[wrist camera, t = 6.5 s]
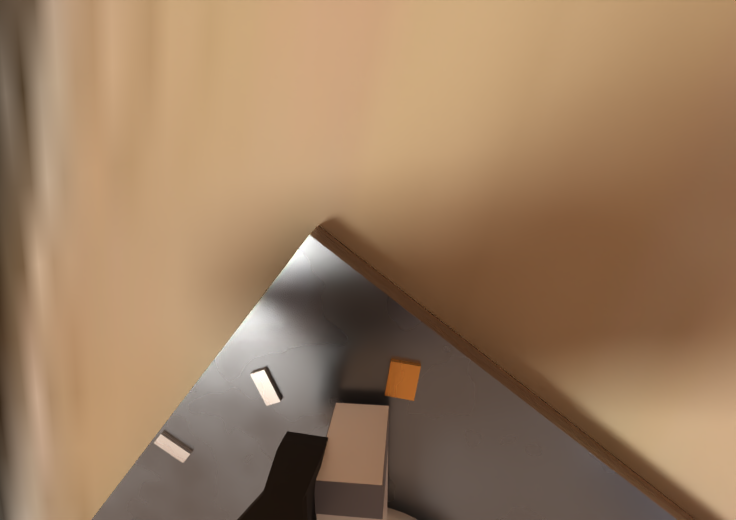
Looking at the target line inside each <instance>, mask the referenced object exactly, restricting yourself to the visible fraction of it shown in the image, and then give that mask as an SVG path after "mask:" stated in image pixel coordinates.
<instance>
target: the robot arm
mask: <svg viewBox="0 0 736 520" xmlns="http://www.w3.org/2000/svg"><path fill="white" fill-rule="evenodd" d="M327 441H328V437H322V436H316V435H309V434H303V433H296V432H290V431H287V432H286V434H285V436H284V437H283V439H282V441H281V443H280V445H279V447H278V449H277V451H276V454H275V457H274V460H273V463H272V466H271V469H270V472H269V475H268V478H267V482H266V485H265V488H264V490H263V491H262V493H261V494H260V495H259V496H258V497H257V498H256V499H255V500H254V502H253V503H252V504H251V505H250V506H249V507H248V508H247V509H246V510H245V511H244V513H243V514H242V515H241V516H240V517H239V518H238V519H237V520H317V517H316V514H315V497H314V493H315V482H316V478H317V476H318V473H319V470H320V468H321V464H322V460H323V457H324V453H325V449H326V445H327Z"/></svg>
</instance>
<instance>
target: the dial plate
mask: <svg viewBox="0 0 736 520" xmlns="http://www.w3.org/2000/svg"><path fill="white" fill-rule="evenodd" d="M336 402H337V403H354V404H372V405H389V441H388V499H387V508H391V509H394V510H397V511H400V512H403V513H405V514H407V515H409V516H411V517H414V518H416V519H417V520H695V519H694V518H692V517H691V516H690V515H689V514H687V513H686V512H685V511H684V510H682V509H681V508H680V507H678V506H677V505H676V504H675V503H673V502H672V501H671V500H669V499H668V498H667V497H666V496H664V495H663V494H662V493H660V492H659V491H658V490H657V489H655V488H654V487H653V486H652V485H650V484H649V483H648V482H646V481H645V480H644V479H643V478H641V477H640V476H639V475H637V474H636V473H635V472H634V471H632V470H631V469H630V468H628V467H627V466H626V465H625V464H623V463H622V462H621V461H619V460H618V459H617V458H616V457H614V456H613V455H612V454H611V453H609V452H608V451H607V450H605V449H604V448H603V447H602V446H600V445H599V444H598V443H596V442H595V441H594V440H593V439H591V438H590V437H589V436H587V435H586V434H585V433H584V432H582V431H581V430H580V429H578V428H577V427H576V426H575V425H573V424H572V423H571V422H570V421H568V420H567V419H566V418H564V417H563V416H562V415H561V414H559V413H558V412H557V411H555V410H554V409H553V408H552V407H550V406H549V405H548V404H546V403H545V402H544V401H543V400H541V399H540V398H539V397H537V396H536V395H535V394H534V393H532V392H531V391H530V390H529V389H527V388H526V387H525V386H523V385H522V384H521V383H520V382H518V381H517V380H516V379H514V378H513V377H512V376H511V375H509V374H508V373H507V372H505V371H504V370H503V369H502V368H500V367H499V366H498V365H496V364H495V363H494V362H493V361H491V360H490V359H489V358H488V357H486V356H485V355H484V354H482V353H481V352H480V351H479V350H477V349H476V348H475V347H473V346H472V345H471V344H470V343H468V342H467V341H466V340H464V339H463V338H462V337H461V336H459V335H458V334H457V333H455V332H454V331H453V330H452V329H450V328H449V327H448V326H447V325H445V324H444V323H443V322H441V321H440V320H439V319H438V318H436V317H435V316H434V315H432V314H431V313H430V312H429V311H427V310H426V309H425V308H423V307H422V306H421V305H420V304H418V303H417V302H416V301H415V300H413V299H412V298H411V297H409V296H408V295H407V294H406V293H404V292H403V291H402V290H400V289H399V288H398V287H397V286H395V285H394V284H393V283H391V282H390V281H389V280H388V279H386V278H385V277H384V276H382V275H381V274H380V273H379V272H377V271H376V270H375V269H374V268H372V267H371V266H370V265H368V264H367V263H366V262H365V261H363V260H362V259H361V258H359V257H358V256H357V255H356V254H354V253H353V252H352V251H350V250H349V249H348V248H347V247H345V246H344V245H343V244H341V243H340V242H339V241H338V240H336V239H335V238H334V237H333V236H331V235H330V234H329V233H327V232H326V231H325V230H324V229H322V228H321V227H320V226H317V227H316V228H315V229H314V230H313V231H312V232H311V234H310V235H309V236H308V237H307V238H306V240H305V241H304V242H303V244H302V245H301V246H300V248H299V249H298V250H297V252H296V253H295V254H294V255H293V257H292V258H291V259H290V261H289V262H288V263H287V265H286V266H285V267H284V269H283V270H282V271H281V272H280V274H279V275H278V276H277V278H276V279H275V280H274V282H273V283H272V284H271V286H270V287H269V288H268V290H267V291H266V292H265V293H264V295H263V296H262V297H261V299H260V300H259V301H258V303H257V304H256V305H255V307H254V308H253V309H252V310H251V312H250V313H249V314H248V316H247V317H246V318H245V320H244V321H243V322H242V324H241V325H240V326H239V327H238V329H237V330H236V331H235V333H234V334H233V335H232V337H231V338H230V339H229V341H228V342H227V343H226V345H225V346H224V347H223V348H222V350H221V351H220V352H219V354H218V355H217V356H216V358H215V359H214V360H213V362H212V363H211V364H210V365H209V367H208V368H207V369H206V371H205V372H204V373H203V375H202V376H201V377H200V379H199V380H198V381H197V382H196V384H195V385H194V386H193V388H192V389H191V390H190V392H189V393H188V394H187V396H186V397H185V398H184V400H183V401H182V402H181V403H180V405H179V406H178V407H177V409H176V410H175V411H174V413H173V414H172V415H171V417H170V418H169V419H168V420H167V422H166V423H165V424H164V426H163V427H162V428H161V430H160V431H159V432H158V434H157V435H156V436H155V437H154V439H153V440H152V441H151V443H150V444H149V445H148V447H147V448H146V449H145V451H144V452H143V453H142V455H141V456H140V457H139V458H138V460H137V461H136V462H135V464H134V465H133V466H132V468H131V469H130V470H129V472H128V473H127V474H126V475H125V477H124V478H123V479H122V481H121V482H120V483H119V485H118V486H117V487H116V489H115V490H114V491H113V492H112V494H111V495H110V496H109V498H108V499H107V500H106V502H105V503H104V504H103V506H102V507H101V508H100V510H99V511H98V512H97V513H96V515H95V516H94V517H93V519H92V520H237V519H238V518H239V517H240V516H241V515H242V514H243V513H244V511H245V510H246V509H247V508H248V507H249V506H250V505H251V504H252V503H253V502H254V500H255V499H256V498H257V497H258V496H259V495H260V494H261V493H262V491H263V490H264V488H265V485H266V482H267V478H268V475H269V472H270V469H271V466H272V463H273V460H274V457H275V454H276V451H277V449H278V447H279V445H280V443H281V441H282V439H283V437H284V436H285V434H286V432H287V431H290V432H296V433H303V434H309V435H316V436H322V437H326V435H327V431H328V428H329V424H330V421H331V417H332V413H333V410H334V406H335V403H336Z"/></svg>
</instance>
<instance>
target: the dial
mask: <svg viewBox="0 0 736 520" xmlns="http://www.w3.org/2000/svg"><path fill="white" fill-rule="evenodd" d="M326 437H328V441H327V445H326V449H325V453H324V457H323V460H322V464H321V468H320V470H319V473H318V476H317V478H316V482H315V493H314V497H315V514H316V517H317V520H417V519H416V518H414V517H411V516H409V515H407V514H405V513H403V512H400V511H397V510H394V509H391V508H387V499H388V441H389V405H372V404H354V403H337V402H336V403H335V406H334V410H333V413H332V417H331V421H330V424H329V428H328V431H327V435H326Z"/></svg>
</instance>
